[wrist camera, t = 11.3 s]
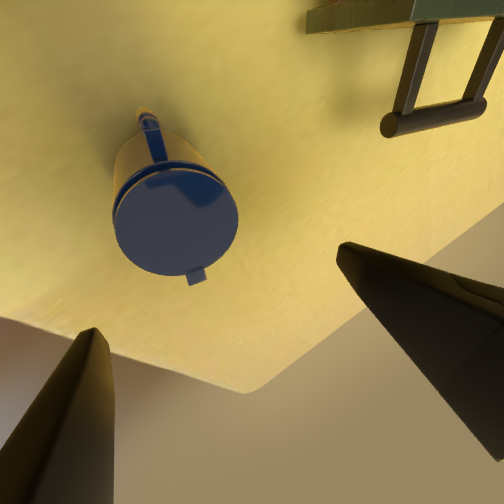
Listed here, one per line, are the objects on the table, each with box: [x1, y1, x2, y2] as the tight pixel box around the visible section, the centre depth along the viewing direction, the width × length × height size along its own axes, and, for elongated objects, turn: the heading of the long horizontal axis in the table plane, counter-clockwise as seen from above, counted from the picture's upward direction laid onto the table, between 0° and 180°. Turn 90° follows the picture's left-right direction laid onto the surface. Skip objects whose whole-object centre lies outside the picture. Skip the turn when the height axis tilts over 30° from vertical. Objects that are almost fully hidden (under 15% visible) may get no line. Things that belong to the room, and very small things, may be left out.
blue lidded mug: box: [112, 107, 238, 286], centre depth 14 cm, size 8×6×7 cm
